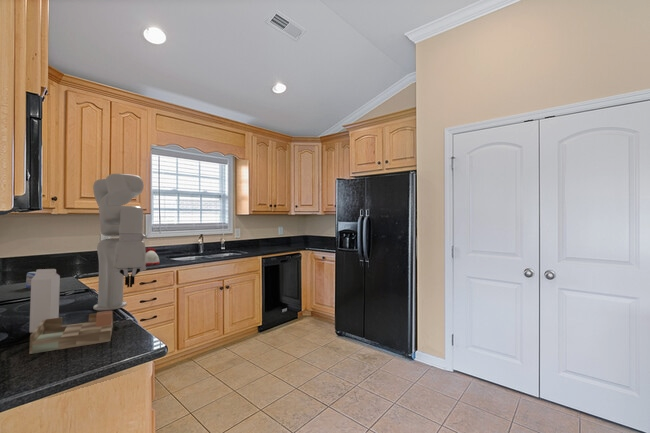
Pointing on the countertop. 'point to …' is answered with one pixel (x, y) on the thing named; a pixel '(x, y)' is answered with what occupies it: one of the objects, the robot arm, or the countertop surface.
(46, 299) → the milk
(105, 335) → the wooden cubby shelf
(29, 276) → the medicine box
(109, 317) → the block
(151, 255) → the kitchen timer
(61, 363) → the countertop surface
